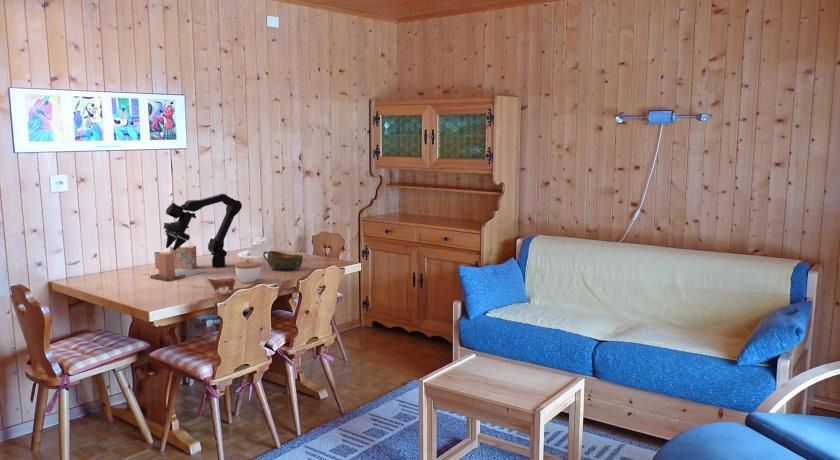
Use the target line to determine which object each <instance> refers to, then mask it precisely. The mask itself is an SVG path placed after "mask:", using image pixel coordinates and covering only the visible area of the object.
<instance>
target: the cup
mask: <svg viewBox="0 0 840 460" xmlns="http://www.w3.org/2000/svg"><path fill="white" fill-rule="evenodd" d="M277 251H278V250H276V251H269V252H267V251H266V252H264V253H263V256H264V258H263V259H265V261H266V262H267V264H268V265H269V267H270V268H271V270H272V271H274V272H296V271H298V270H299V268H301V266H302V264H303V261H304V259H303V258H304V255H302V254H291V253H289V254H288V253H284V252H280V251H279V252H277ZM266 253H268V257H267V258H266V257H265V254H266Z"/></svg>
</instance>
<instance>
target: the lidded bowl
mask: <svg viewBox="0 0 840 460" xmlns="http://www.w3.org/2000/svg"><path fill="white" fill-rule="evenodd" d="M261 265H262V263H261V262H260V261H254V260H253V261H252V260H250V259H246V261H240V262H236V263H235V264H234V268H235V274H236V277H237V279H238V280H239V281H240V282H241V283H243V284H246V283H247V284H249V283H251V284H252V283H254V282H256V281H257V280H258V279H259V278H260V275H261V269H262V268H261Z"/></svg>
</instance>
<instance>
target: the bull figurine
mask: <svg viewBox="0 0 840 460" xmlns="http://www.w3.org/2000/svg"><path fill="white" fill-rule="evenodd" d="M205 283H206V284H209V285H210V287H211V288H212V289H213V293H212V296H215V295H217V294H219V293H220V291H219V290H220V289H223V290H225V289H226V288H227V287H228V288H227V291H226V292H225V293H226V294H228V293H232V292H233V293H234V286H235V285H236V280H235V278H216V277H213V276H208V278H207V279H206V280H205ZM233 293H232V294H233Z"/></svg>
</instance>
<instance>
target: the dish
mask: <svg viewBox="0 0 840 460" xmlns="http://www.w3.org/2000/svg"><path fill="white" fill-rule="evenodd" d="M253 239H254V241H253V242H252V243H251V244H250V249H248V250H242V251H239V252H237V257H238V258H243V259H265V258H264V256H263V253H264V252H266V251H267V252H269V251H277V252H280V251H278V250H277V249H276V250H275V249H271V242H270V241H266V240H267V236H260V235H259V236H255V237H253ZM265 257H266V258H267V259H268V253H266V254H265Z"/></svg>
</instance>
